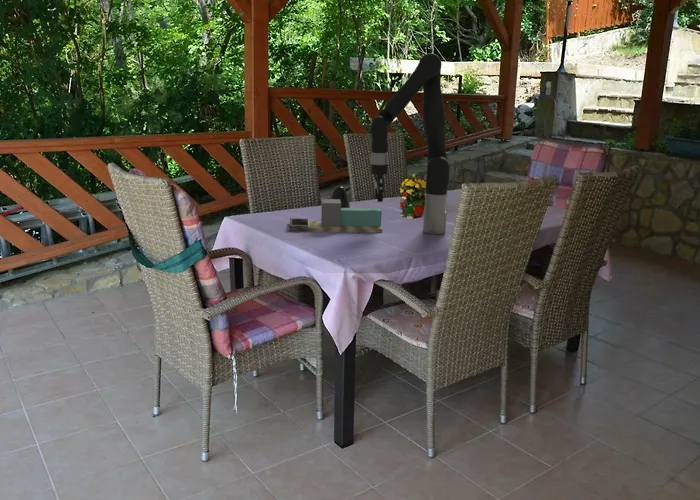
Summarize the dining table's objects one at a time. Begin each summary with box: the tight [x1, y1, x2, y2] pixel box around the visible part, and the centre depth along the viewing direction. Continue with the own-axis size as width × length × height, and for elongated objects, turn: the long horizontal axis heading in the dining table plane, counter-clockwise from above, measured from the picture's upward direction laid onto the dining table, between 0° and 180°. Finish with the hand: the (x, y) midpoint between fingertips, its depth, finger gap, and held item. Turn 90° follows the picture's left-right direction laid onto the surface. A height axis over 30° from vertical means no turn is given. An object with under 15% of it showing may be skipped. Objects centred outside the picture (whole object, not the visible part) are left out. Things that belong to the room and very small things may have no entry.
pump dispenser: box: [329, 185, 351, 208], centre depth 296 cm, size 10×10×15 cm
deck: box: [289, 217, 383, 233], centre depth 278 cm, size 40×14×2 cm, turn 95°
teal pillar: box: [341, 207, 383, 227], centre depth 278 cm, size 18×5×7 cm, turn 95°
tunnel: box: [320, 198, 341, 227], centre depth 276 cm, size 8×8×10 cm
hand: (378, 199), depth 277 cm, fingers open, 8 cm apart
